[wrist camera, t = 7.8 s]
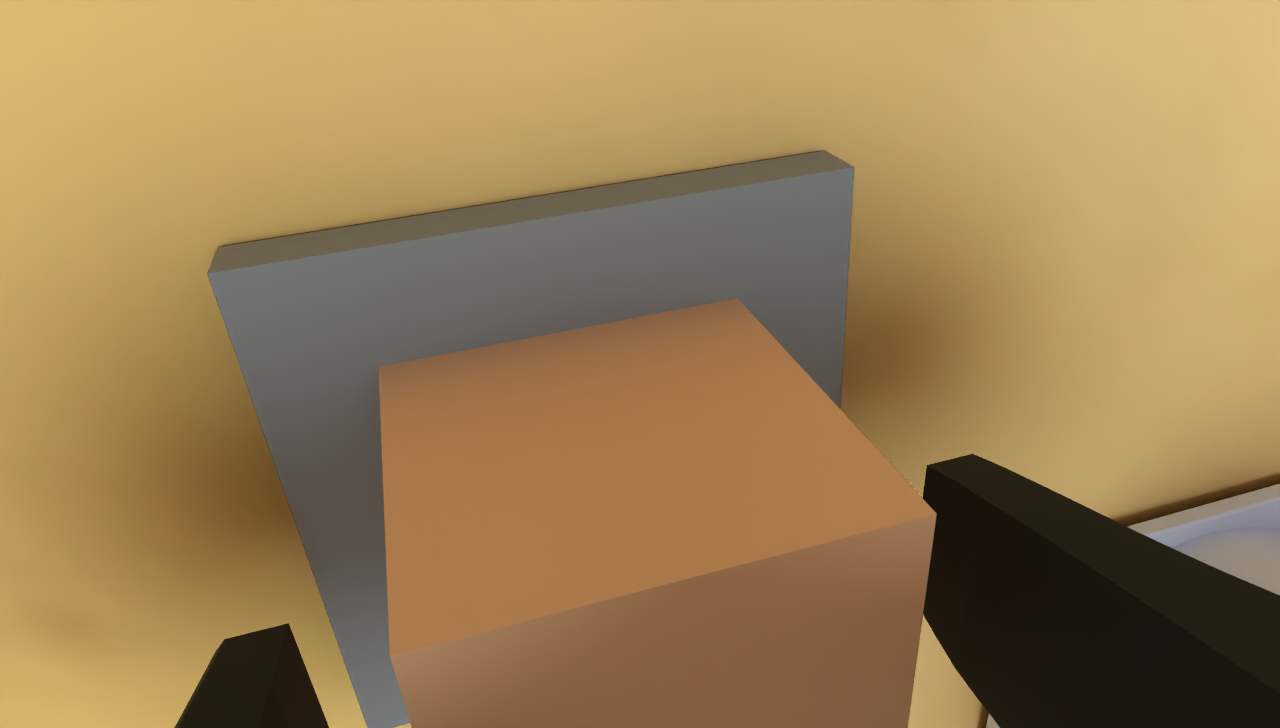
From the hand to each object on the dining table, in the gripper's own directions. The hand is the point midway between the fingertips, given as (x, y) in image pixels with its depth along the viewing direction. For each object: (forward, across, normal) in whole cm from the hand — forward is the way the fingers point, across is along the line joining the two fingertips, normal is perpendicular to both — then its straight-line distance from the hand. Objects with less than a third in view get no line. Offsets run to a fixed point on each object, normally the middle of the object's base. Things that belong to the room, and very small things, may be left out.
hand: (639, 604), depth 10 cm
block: (+2, 0, 0) cm, 3 cm away
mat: (+3, 0, 0) cm, 3 cm away
